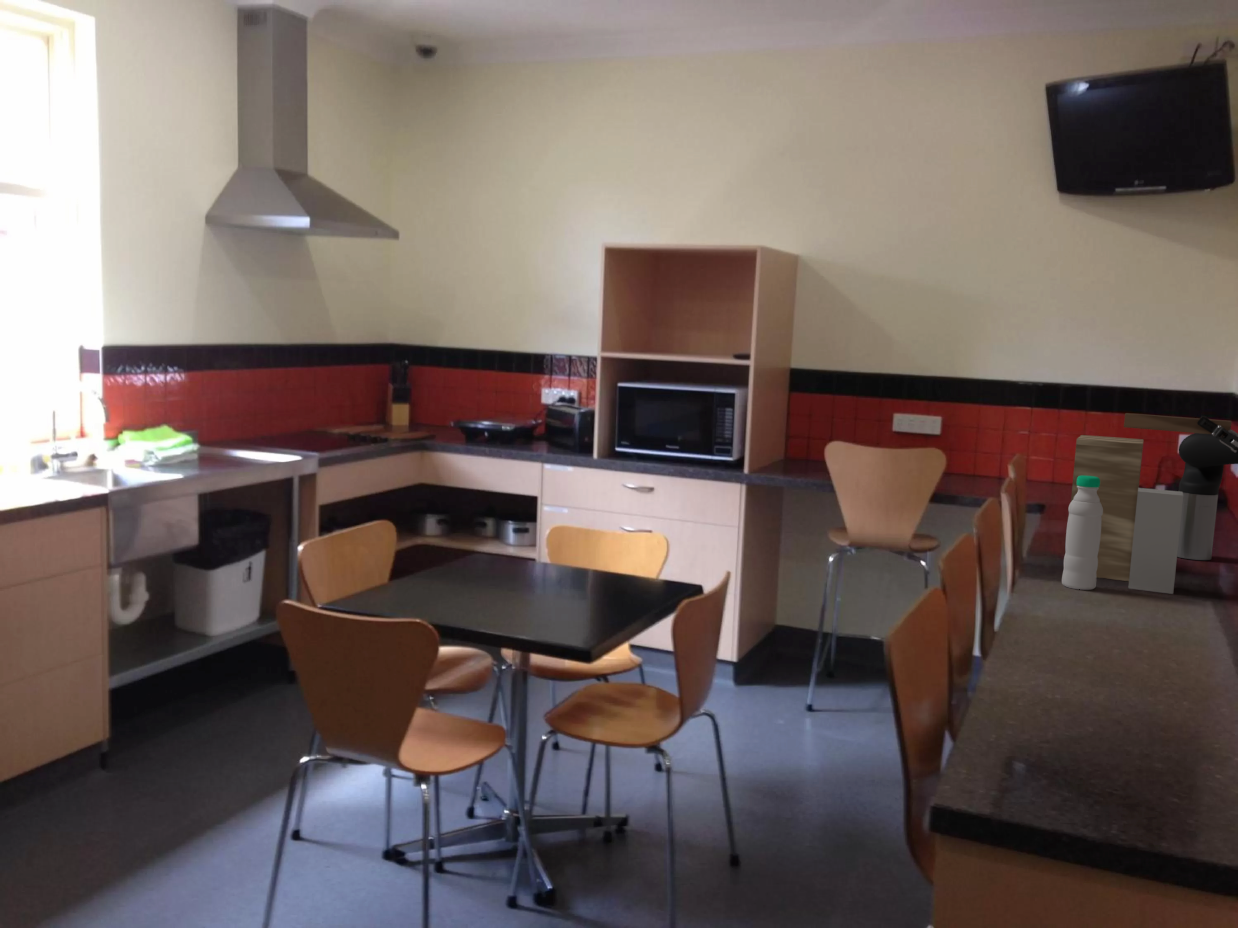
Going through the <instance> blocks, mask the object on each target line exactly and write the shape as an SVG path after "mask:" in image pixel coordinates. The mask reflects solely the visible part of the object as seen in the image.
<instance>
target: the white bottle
mask: <svg viewBox="0 0 1238 928" xmlns="http://www.w3.org/2000/svg"><path fill="white" fill-rule="evenodd" d="M1099 486H1100V479H1099V478H1098V477H1095V476H1086V475H1081V476H1078V477H1077V488H1078V492H1077V494H1076V495H1075V496H1074V499H1073V500H1072V502H1071V501H1070V503H1069V505H1068V517H1067V524H1066V531H1065V533H1066V534H1065V554H1064V557H1063V571H1062V575H1061V584H1062V585H1063V586H1064V587H1066V588H1068V589H1073V590H1079V589H1080V590H1079V591H1092V590H1094V589H1095V588H1096V586H1097V577H1096V571H1097V567H1098V557H1097V556H1098V552H1099V545H1100V536H1101V516H1102V514H1103V508H1102V505H1101V503H1100V499H1099V497H1098V495H1097V490H1098V489H1099V488H1098V487H1099Z"/></svg>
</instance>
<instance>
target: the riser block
mask: <svg viewBox="0 0 1238 928" xmlns="http://www.w3.org/2000/svg"><path fill="white" fill-rule="evenodd" d="M1182 504H1183V492H1180V491H1179V490H1178V491H1177V490H1166V489H1155V488H1143V487H1139V488H1138V495H1137V505H1136V515H1135V525H1134V536H1133V546H1132V556H1131V566H1130V576H1129V581H1128V589H1129V590H1137V591H1138V590H1139V591H1146V592H1154V593H1163V594H1170V595H1174V589H1175V580H1176V579H1175V578H1176V569H1177V560H1178V557H1177V552H1178V542H1179V533H1180V523H1181V513H1182Z"/></svg>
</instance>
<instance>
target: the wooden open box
mask: <svg viewBox="0 0 1238 928" xmlns="http://www.w3.org/2000/svg"><path fill="white" fill-rule="evenodd" d="M1144 442H1145V441H1144V439H1141V438H1129V437H1128V438H1127V437H1114V436H1101V435H1100V436H1099V435H1088V434H1087V435H1086V434H1081V435H1080V436H1078V437H1077V438H1076V442H1075V454H1074V464H1073V465H1074V466H1073V473H1072V486H1071V497H1070V503H1071V502H1072V500H1073V499H1074V496H1075V495H1076V494H1077V492H1078V488H1077V477H1078V476H1081V475H1086V476H1095V477H1098V478H1099V479H1100V486H1099V487H1098V488H1099V489H1098V490H1097V495H1098V497H1099V499H1100V503H1101V505H1102V508H1103V514H1102V516H1101V536H1100V545H1099V552H1098V556H1097V557H1098V567H1097V571H1096V578H1099V579H1108V580H1116V581H1123V582H1124V581H1125V582H1129V576H1130V566H1131V556H1132V546H1133V536H1134V525H1135V515H1136V505H1137V495H1138V488H1140V482H1141V481H1140V479H1141V471H1142V469H1141V468H1142V460H1143V459H1142V458H1143V452H1144V451H1143V449H1144Z"/></svg>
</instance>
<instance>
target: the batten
mask: <svg viewBox="0 0 1238 928" xmlns="http://www.w3.org/2000/svg"><path fill="white" fill-rule="evenodd" d="M1199 420H1200V417H1199V418H1198V417H1196V418H1195V417H1184V416H1183V417H1182V416H1172V415H1171V416H1170V415H1169V416H1168V415H1155V414H1143V413H1130V412H1126V413H1125V414H1124V420H1123V422H1124V423H1123V428H1127V429H1129V428H1130V429H1131V428H1132V429H1138V430H1139V429H1141V430H1142V429H1143V430H1154V431H1166V432H1167V431H1168V432H1179V433H1191V434H1194V433H1202V434H1211V433H1210V432H1209V431H1207V430H1206V429H1204V428H1202V427H1201V426H1199V425H1198V424H1197V422H1198V421H1199ZM1209 420H1211V421H1212V422H1214V423H1215V424H1217V426H1218V425H1219V426H1220V425H1221V426H1222V427H1223V428H1225V429H1226V430H1231V427H1232V420H1222V419H1211V418H1209ZM1224 434H1225V432H1224V433H1223V434H1222V435H1224Z"/></svg>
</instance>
